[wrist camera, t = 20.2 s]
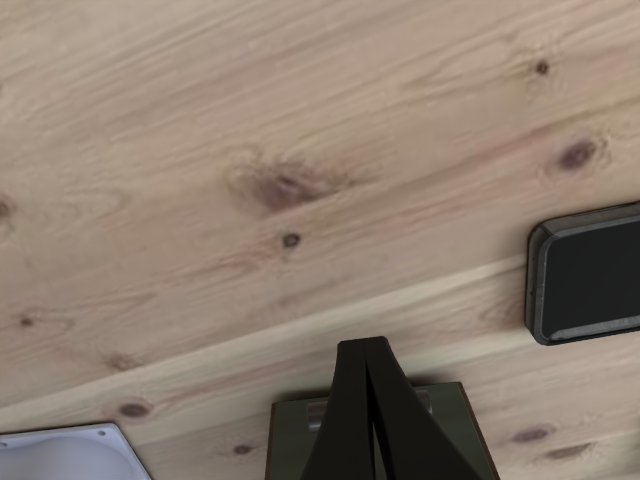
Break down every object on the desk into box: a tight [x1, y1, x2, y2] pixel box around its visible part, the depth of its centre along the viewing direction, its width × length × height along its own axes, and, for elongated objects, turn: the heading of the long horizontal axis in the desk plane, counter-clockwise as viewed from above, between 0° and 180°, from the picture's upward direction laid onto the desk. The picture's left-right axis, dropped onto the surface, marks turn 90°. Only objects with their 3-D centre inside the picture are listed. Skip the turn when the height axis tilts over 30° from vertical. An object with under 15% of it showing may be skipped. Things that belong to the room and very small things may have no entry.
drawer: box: [270, 382, 495, 480], centre depth 25 cm, size 17×11×6 cm
